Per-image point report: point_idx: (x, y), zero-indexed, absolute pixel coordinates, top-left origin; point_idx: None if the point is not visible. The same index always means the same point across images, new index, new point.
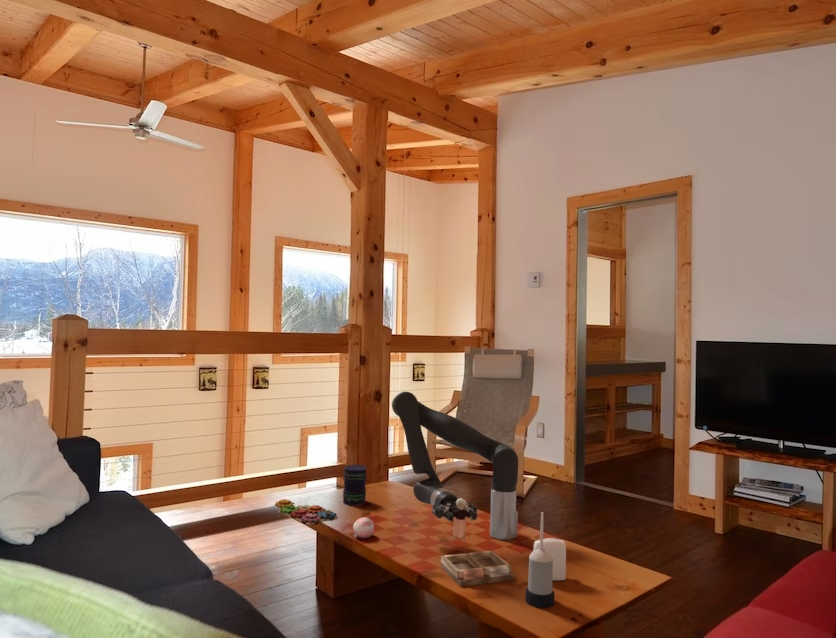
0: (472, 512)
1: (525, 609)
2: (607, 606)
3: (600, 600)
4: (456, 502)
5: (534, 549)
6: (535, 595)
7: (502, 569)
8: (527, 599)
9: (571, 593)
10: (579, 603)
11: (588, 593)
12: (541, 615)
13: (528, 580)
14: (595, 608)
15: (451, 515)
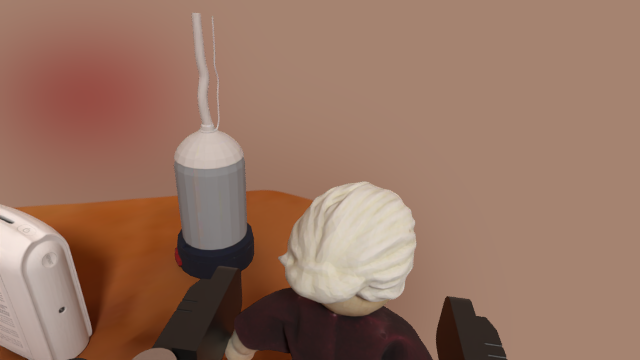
0: (225, 298)
1: (279, 244)
2: (116, 203)
3: (95, 217)
4: (414, 247)
5: (58, 259)
6: (247, 223)
7: None
8: (252, 251)
9: (106, 253)
10: (148, 224)
11: (72, 241)
12: (267, 222)
13: (239, 220)
14: (145, 206)
15: (466, 299)
